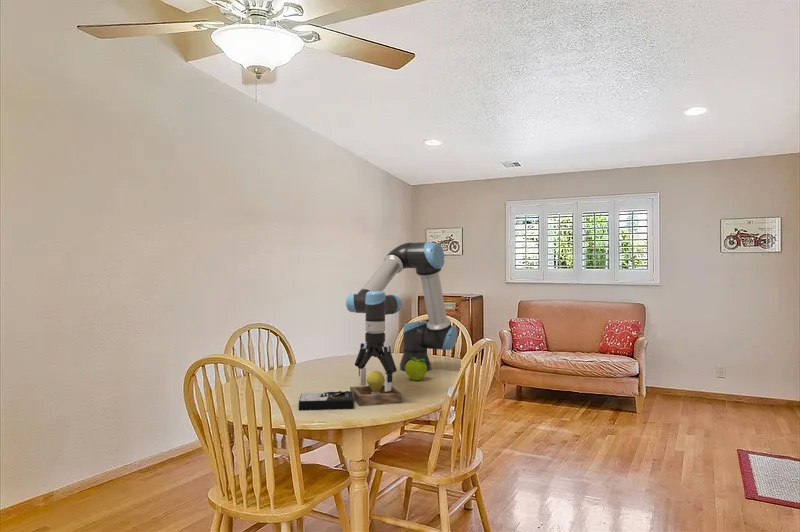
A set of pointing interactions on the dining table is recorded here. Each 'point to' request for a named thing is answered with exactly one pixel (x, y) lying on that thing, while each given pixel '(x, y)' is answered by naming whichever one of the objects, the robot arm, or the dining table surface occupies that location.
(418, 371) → the fruit
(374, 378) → the light bulb
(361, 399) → the tray
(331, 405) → the multimeter
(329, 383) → the dining table surface
